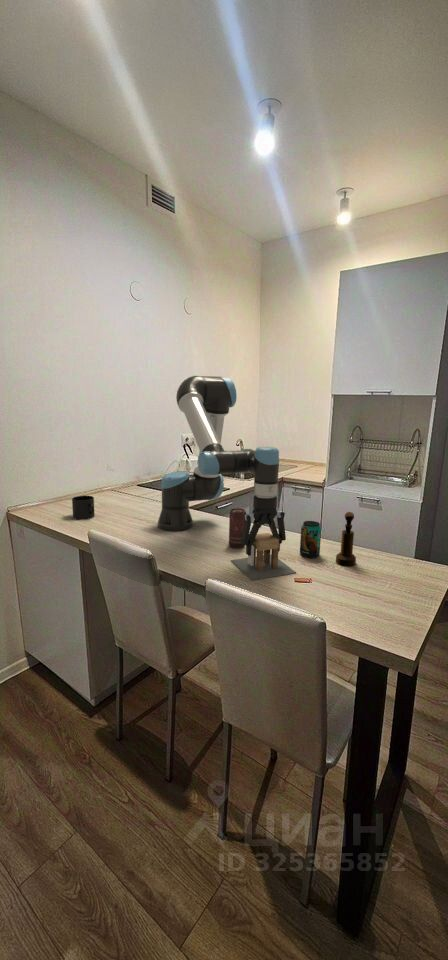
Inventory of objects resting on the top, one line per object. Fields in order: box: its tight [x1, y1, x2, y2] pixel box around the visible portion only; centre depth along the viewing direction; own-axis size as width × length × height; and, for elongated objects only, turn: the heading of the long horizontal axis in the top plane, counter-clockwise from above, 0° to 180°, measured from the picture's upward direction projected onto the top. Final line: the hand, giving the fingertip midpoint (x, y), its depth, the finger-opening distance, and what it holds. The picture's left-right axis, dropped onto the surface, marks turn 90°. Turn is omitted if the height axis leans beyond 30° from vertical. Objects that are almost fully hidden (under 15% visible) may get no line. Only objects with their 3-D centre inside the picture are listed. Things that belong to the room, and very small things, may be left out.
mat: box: [230, 554, 297, 581], centre depth 131 cm, size 16×16×1 cm
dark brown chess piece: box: [335, 511, 357, 567], centre depth 134 cm, size 7×6×18 cm
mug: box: [71, 495, 96, 520], centre depth 181 cm, size 9×12×9 cm
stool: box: [252, 532, 279, 571], centre depth 130 cm, size 7×7×10 cm
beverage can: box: [299, 520, 322, 559], centre depth 141 cm, size 7×7×12 cm
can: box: [228, 508, 247, 549], centre depth 149 cm, size 6×6×14 cm
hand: (262, 562), depth 131 cm, fingers open, 8 cm apart
